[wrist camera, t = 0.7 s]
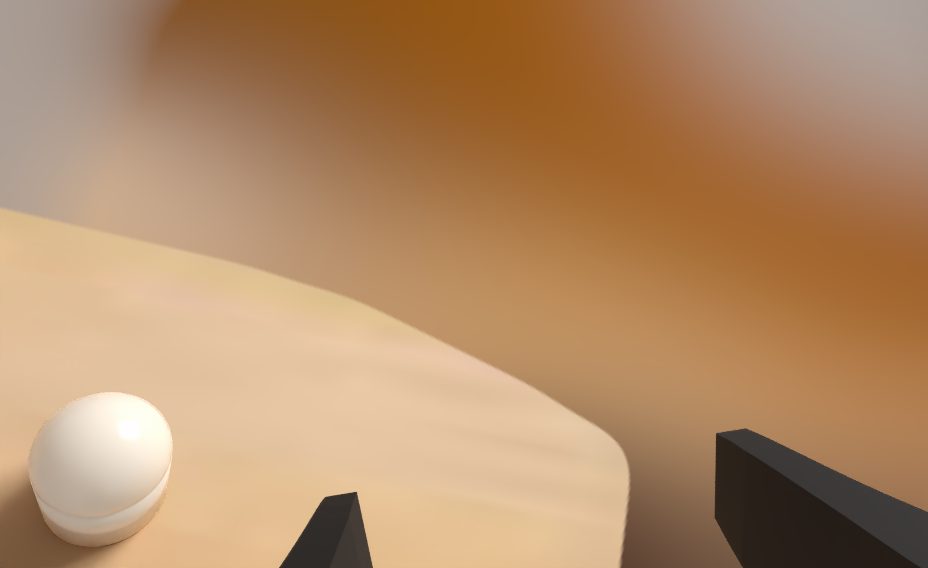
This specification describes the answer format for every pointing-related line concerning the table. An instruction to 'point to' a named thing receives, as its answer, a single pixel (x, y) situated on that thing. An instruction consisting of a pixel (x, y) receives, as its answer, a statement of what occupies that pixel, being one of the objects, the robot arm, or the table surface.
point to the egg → (101, 468)
